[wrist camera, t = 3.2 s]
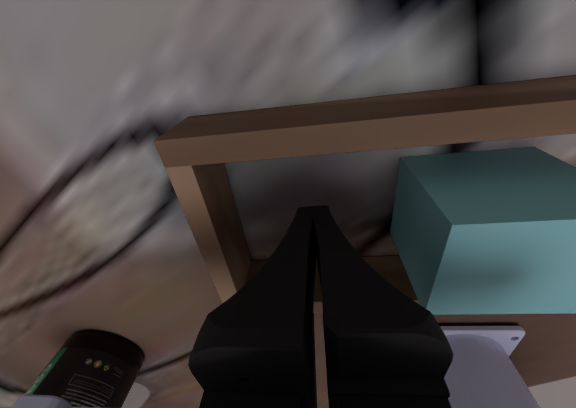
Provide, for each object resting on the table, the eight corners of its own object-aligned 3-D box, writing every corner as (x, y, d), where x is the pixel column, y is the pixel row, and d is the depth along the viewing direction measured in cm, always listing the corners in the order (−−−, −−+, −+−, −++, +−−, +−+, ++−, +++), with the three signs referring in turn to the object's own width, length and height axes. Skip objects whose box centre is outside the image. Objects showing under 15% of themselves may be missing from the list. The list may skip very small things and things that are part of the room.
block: (497, 226, 13) (582, 313, 9) (389, 231, 14) (424, 314, 10) (532, 145, 11) (670, 214, 7) (400, 156, 12) (452, 225, 7)
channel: (604, 260, 14) (667, 309, 12) (239, 272, 17) (227, 314, 14) (772, 53, 9) (962, 62, 6) (188, 117, 11) (153, 141, 9)
